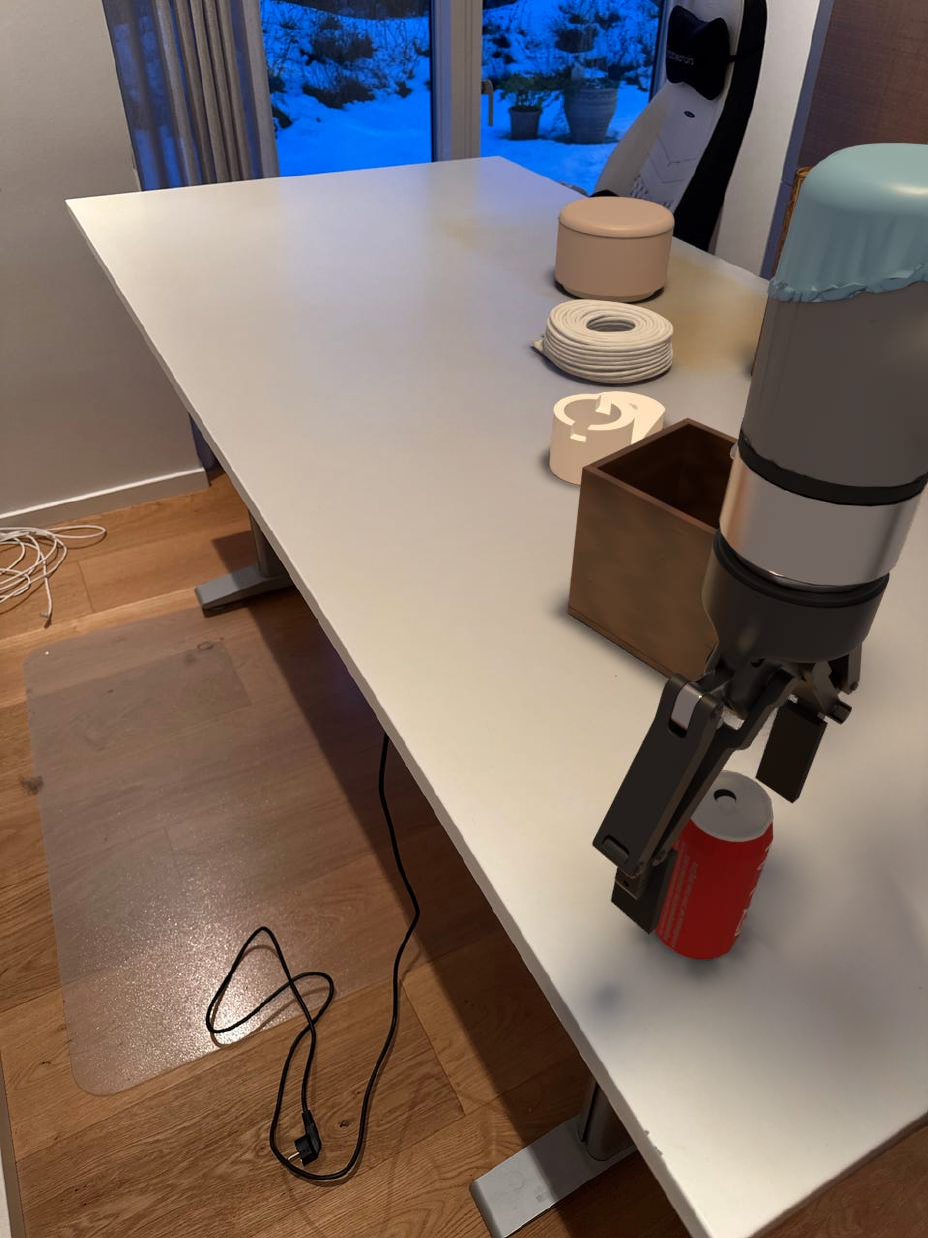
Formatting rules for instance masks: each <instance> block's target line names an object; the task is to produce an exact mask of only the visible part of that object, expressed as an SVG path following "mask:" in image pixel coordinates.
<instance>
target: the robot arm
mask: <svg viewBox="0 0 928 1238" xmlns="http://www.w3.org/2000/svg"><path fill="white" fill-rule="evenodd" d="M814 166H815V167H813V168H812V169H811V170H810V171H809V173H808V174H807V176H806V178H805V180H804V181H803V183H802V186H801V189H800V192H799V196H798V199H797V203H796V206H795V209H794V213H793V216H792V220H791V223H790V226H789V230H788V233H787V237H786V240H785V244H784V247H783V250H782V254H781V257H780V261H779V264H778V267H777V271H776V274H775V276H774V277H773V278H772V277H771V278H770V279H769V282H768V287H767V292H766V294H767V293H768V294H769V298H768V297H767V298H768V303H767V302H766V303H767V308H766V313H765V318H764V323H763V328H762V333H761V338H760V342H759V347H758V352H757V357H756V361H755V366H754V371H753V375H751V380H750V385H749V389H748V395H747V400H746V404H745V409H744V413H743V417H742V421H741V424H740V428H739V432H738V438H737V439H738V441H737V442H736V443H735V444H734V446H733V447H732V448H731V453H730V456H731V458H732V459H733V464H732V468H731V472H730V476H729V481H728V485H727V489H726V493H725V498H724V502H723V506H722V510H721V514H720V519H719V521H720V527H719V529H718V530H717V531H716V533H715V536H714V539H713V543H712V547H711V552H710V556H709V560H708V565H707V569H706V573H705V577H704V582H703V586H702V602H703V606H704V609H705V612H706V614H707V616H708V617H709V619H710V621H711V623H712V626H713V628H714V630H715V633H716V635H717V639H718V641H717V643H716V644H715V646H714V647H713V649H712V650H711V652H710V654H709V655H708V657H707V659H706V666H705V670H704V672H703V674H702V676H701V677H700V678H699V679H697V680H696V681H694V682H692V681H690V680H689V679H687V678H686V677H684V676H683V675H681V674H679V673H675V674H674V675H672V676H671V677H670V678H669V677H668V680H667V681H666V682H665V684H664V686H663V688H662V692H661V695H660V698H659V702H658V705H657V708H656V712H655V716H654V718H653V721H652V722H651V725H650V726H649V728H648V730H647V732H646V734H645V735H644V738H643V740H642V741H641V744H640V746H639V748H638V750H637V751H636V754H635V756H634V757H633V760H632V762H631V764H630V766H629V768H628V770H627V772H626V774H625V776H624V778H623V780H622V782H621V784H620V787H619V788H618V790H617V792H616V793H615V796H614V798H613V799H612V802H611V804H610V806H609V808H608V810H607V812H606V813H605V816H604V818H603V820H602V822H601V824H600V825H599V828H598V830H597V832H596V834H595V835H594V838H593V840H592V844H591V845H592V847H593V848H594V849H595V850H597V851H598V852H599V853H601V855H603V856H604V857H605V858H606V859H607V860H608V861H609V862H611V863H612V864H613V865H615V866H616V871H615V876H614V884H613V887H612V893H611V897H610V902H611V903H612V904H613V905H614V906H615V907H616V908H617V909H618V910H620V912H622V913H623V914H624V915H625V916H627V917H628V918H629V919H630V920H631V921H632V922H634V923H635V924H636V925H637V926H638V927H639V928H641V929H642V930H643V931H644V932H645V933H646V934H647V935H650V934H652V933H653V932H655V931H654V930H655V929H656V928H657V927H658V924H659V921H660V917H661V913H662V910H663V906H664V902H665V899H666V895H667V891H668V888H669V884H670V881H671V877H672V873H673V870H674V866H675V862H676V859H677V855H678V851H677V850H675V849H674V848H673V847H672V846H673V844H674V843H675V841H676V840H677V838H678V837H679V835H680V833H681V832H682V830H683V829H684V827H685V826H686V824H687V823H688V821H689V820H690V818H691V817H692V815H693V813H694V812H695V810H696V809H697V807H698V806H699V804H700V803H701V801H702V800H703V798H704V797H705V795H706V793H707V792H708V790H709V789H710V787H711V786H712V784H713V783H714V781H715V780H716V778H717V777H718V775H719V773H720V772H721V770H724V767H725V766H726V764H727V762H728V761H729V760H730V758H731V757H732V755H733V754H734V753H735V752H736V751H745V750H748V749H749V748H750V747H751V746H752V744H753V743H754V741H755V739H756V738H757V736H758V735H759V733H760V732H761V730H762V729H763V727H764V725H766V722H767V721H768V720H769V718H770V717H771V715H772V714H773V712H774V710H776V709H777V711H776V713H775V716H774V719H773V723H772V726H771V728H770V731H769V734H768V738H767V741H766V744H765V746H764V749H763V753H762V756H761V759H760V761H759V764H758V768H757V771H756V773H755V777H754V778H755V780H757V781H758V782H760V783H761V784H763V785H764V786H766V787H767V788H768V789H770V790H772V791H773V793H776V794H777V795H778V796H780V797H781V798H783V799H785V800H786V801H787V802H789V803H790V804H794V803H795V802H796V801H797V800H799V799H800V797H801V795H802V792H803V788H804V786H805V784H806V782H807V778H808V776H809V774H810V771H811V768H812V766H813V763H814V760H815V758H816V755H817V753H818V750H819V748H820V745H821V741H822V739H823V737H824V735H825V732H826V729H827V726H828V724H829V723H828V721H825V718H828V719H830V720H832V721H833V722H835V723H837V724H839V725H842V724H844V723H845V722H846V721H847V719H848V718H849V717H850V715H851V713H852V710H853V706H851V705H850V704H848V703H846V702H844V701H843V700H841V698H840V697H839V695H840V693H841V692H842V693H844V694H845V695H847V696H849V695H851V694H852V693H853V692H855V691H856V690H857V688H858V687H859V684H860V683H859V682H860V679H861V669H862V668H861V666H862V652H863V643H864V641H865V640H866V638H867V637H868V635H869V633H870V630H871V628H872V626H873V623H874V620H875V619H876V615H877V612H878V610H879V607H880V605H881V602H882V599H883V598H884V594H885V592H886V589H887V587H888V585H889V581H890V576H891V573H890V572H891V571H892V570H893V569H894V568H896V566H897V564H898V562H899V560H900V558H901V555H902V553H903V550H904V547H905V545H906V541H907V540H908V536H909V534H910V531H911V528H912V527H913V523H914V521H915V517H916V516H917V512H918V510H919V507H920V505H921V502H922V499H923V497H924V494H925V492H926V489H927V486H928V144H924V143H909V142H908V143H906V142H899V143H898V142H887V143H886V142H880V143H867V144H866V143H865V144H859V145H853V146H848V147H845V148H842V149H839V150H837V151H834V152H833V153H831V154H829V155H828V156H827V157H825V158H824V159H822V160H820V161H819V162H818V163H817V164H816V165H814ZM790 696H793V697H794V698H796V702H795V701H794V700H792V699H790V698H789V697H790ZM724 710H725V711H726V712H728V713H730V714H731V715H732V716H734V717H735V718H737V719H738V720H740V721H743V722H742V723H741V725H740V727H738V728H737V729H736V728H734V727H733V726H732V725H730V724H729V723H727V722H725V719H724V717H723V716H722V714H723V712H724Z"/></svg>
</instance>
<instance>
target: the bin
mask: <svg viewBox="0 0 928 1238" xmlns="http://www.w3.org/2000/svg"><path fill="white" fill-rule="evenodd" d="M737 441H738V438H736V437H734V436H732V435H729V434H727V433H724V432H722V431H720V430H718V429H715V428H713V427H712V426H711V427H710V426H708V425H706V424H705V423H704V424H703V423H701V422H699V421H697V420H694V419H692V418H690V417H686V418H684V419H682V420H679V421H678V422H675V423H673V424H671V425H669V426H667V427H665V428H662V429H661V431H658V432H656V433H654V434H652V435H650V436H648V437H646V438H644V439H642V440H639V441H637V442H635V443H633V444H631V445H629V446H627V447H625V448H623V449H620V450H618V451H616V452H614V453H612V454H610V455H608V456H606V457H604V458H602V459H599V460H597V461H595V462H593V463H591V464H589V465H587V466H584V467H583V468H582V476H581V485H579V487H580V488H579V497H578V505H577V515H576V524H575V534H574V543H573V544H574V545H573V552H572V564H571V573H570V582H569V591H568V601H567V602H568V604H567V613H568V614H569V615H571V616H572V617H574V618H575V619H577V620H578V621H580V622H582V623H583V624H584V625H587V627H590V628H591V629H593V630H594V631H595V632H597V633H599V634H600V635H602V636H603V637H604V638H606V639H608V640H610V641H611V642H613V643H614V644H616V645H618V647H620V648H621V649H624V651H626V652H628V653H629V654H631V655H633V656H634V657H636V658H638V659H639V660H640V661H642V662H644V663H645V664H647V665H648V666H650V667H651V668H653V669H654V670H656V671H657V672H659V673H661V674H663V675H664V676H665V677H667V678H668V679H669V678H670V677H671V676H672V675H674V674H675V673H679V674H681V675H683V676H684V677H686V678H687V679H689V680H690V681H692V682H694V681H696V680H697V679H699V678H700V677H701V676H702V674H703V672H704V670H705V666H706V659H707V657H708V655H709V654H710V652H711V650H712V649H713V647H714V646H715V644H716V643H717V641H718V639H717V635H716V633H715V630H714V628H713V626H712V623H711V621H710V619H709V617H708V616H707V614H706V612H705V609H704V606H703V602H702V586H703V582H704V577H705V573H706V569H707V565H708V560H709V556H710V552H711V547H712V543H713V539H714V536H715V533H716V531H717V530H718V529H719V527H720V521H719V519H720V514H721V510H722V506H723V502H724V498H725V493H726V489H727V485H728V481H729V476H730V472H731V468H732V464H733V459H732V458H731V456H730V453H731V448H732V447H733V446H734V444H735V443H736V442H737Z"/></svg>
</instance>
